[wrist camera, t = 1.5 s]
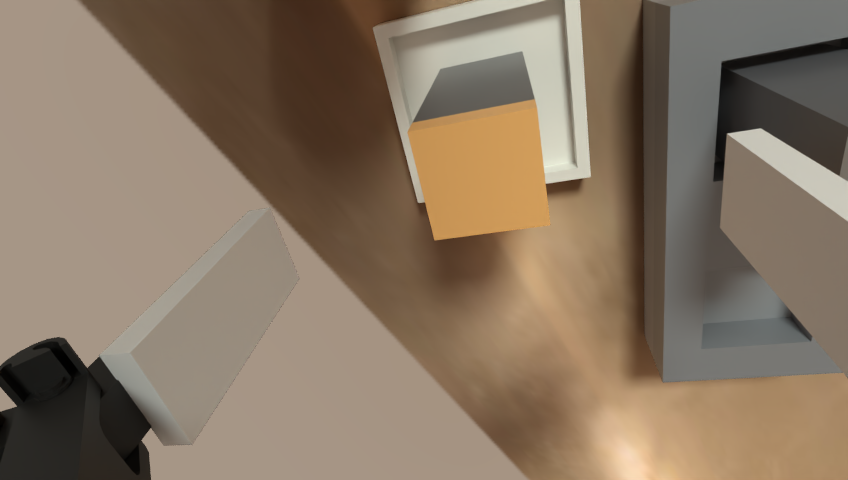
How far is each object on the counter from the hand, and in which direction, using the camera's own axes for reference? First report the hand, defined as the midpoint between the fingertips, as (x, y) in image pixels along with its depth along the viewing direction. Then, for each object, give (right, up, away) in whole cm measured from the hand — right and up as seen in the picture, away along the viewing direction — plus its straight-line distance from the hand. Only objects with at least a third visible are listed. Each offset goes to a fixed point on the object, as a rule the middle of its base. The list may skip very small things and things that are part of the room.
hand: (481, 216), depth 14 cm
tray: (+2, +7, +10) cm, 12 cm away
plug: (+2, +6, +10) cm, 12 cm away
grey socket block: (+15, +2, +11) cm, 18 cm away
